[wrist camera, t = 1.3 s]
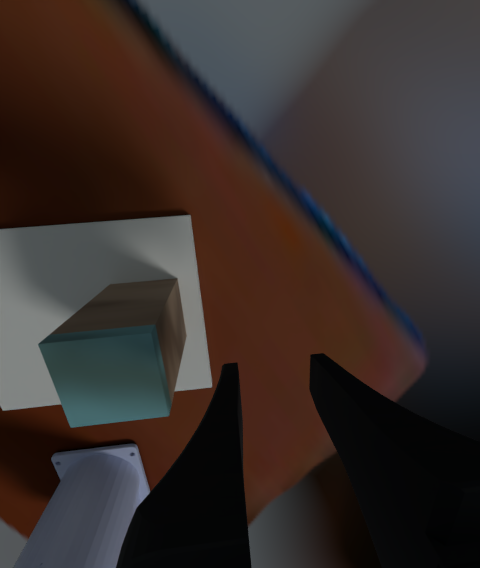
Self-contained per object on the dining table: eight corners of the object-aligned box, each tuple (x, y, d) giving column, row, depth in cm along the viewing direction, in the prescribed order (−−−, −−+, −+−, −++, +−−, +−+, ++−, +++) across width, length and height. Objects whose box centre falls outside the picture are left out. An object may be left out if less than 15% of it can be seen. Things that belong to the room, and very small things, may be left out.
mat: (212, 382, 23) (211, 387, 23) (8, 405, 22) (2, 410, 22) (190, 214, 18) (189, 215, 18) (-76, 234, 17) (-85, 235, 17)
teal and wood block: (186, 335, 21) (168, 416, 13) (124, 341, 20) (70, 427, 13) (177, 278, 19) (151, 332, 12) (110, 284, 19) (37, 344, 11)
